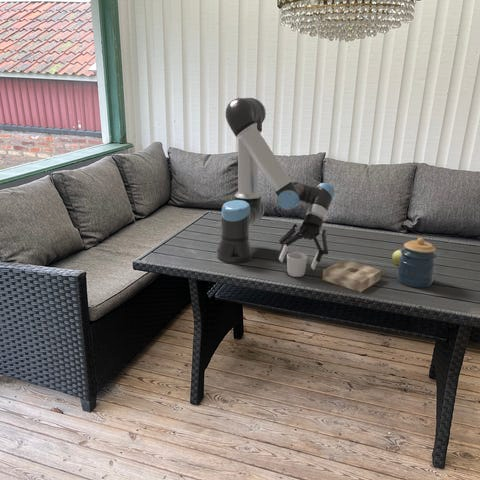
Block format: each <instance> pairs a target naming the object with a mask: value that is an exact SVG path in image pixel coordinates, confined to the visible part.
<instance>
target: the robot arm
mask: <svg viewBox="0 0 480 480" xmlns="http://www.w3.org/2000/svg"><path fill="white" fill-rule="evenodd" d="M266 115H267V111H266V107H265V105H264V104H263V102H261V101H260V100H259V99H257V98H254V97H237V98H235V99H233V100H231V101H230V102H229V103H228V104H227V105H226V109H225V121H227V124H228V126H229V128H230V130H231V132H232V133H233V134H234V136H235V137H236V138H237V168H238V169H237V192H236V193H235V194H234V200H231V201H230V200H229V201H227V202H225V203H223V205H222V207H221V213H220V216H221V219H220V220H221V221H220V222H221V226H220V227H221V228H220V229H221V230H220V231H221V233H220V234H221V236H220V242H219V245H218V247H217V251H216V258H217V259H218V260H220V261H222V262H226V263H232V264H233V263H235V264H237V263H239V264H240V263H245V262H249V261H250V260H252V259H253V251H252V248H251V243H250V237H249V236H250V228H251V227H252V226H253V225H255V224H257V223H258V222H260V221H261V219H262V218H263V216H264V212H265V205H264V203H263V202H262V195H261V193H259V189H258V186H259V185H258V184H259V179H258V178H259V176H258V175H259V169H260V172H262V174H263V176H264V177H265V179H266V180H267V182H268V183H269V185H270V186H271V188H272V189H273V191H274V193H275V194H276V196H277V202H278V205H279V206H280V208H281V209H283V210H286V211H288V210H292V209H295V208H296V207H297V206H298V205H300V204H301V203H303V204H307V205H309V207H308V208H307V211H306V214H305V215H304V219H303V221H302V224H301V225H300V226H299V225H297V224H296V223H294V224H293V225H292V227H291V229H289V231H287V232H286V233H285V234H284V235H283V236H282V237H281V238H280V239H279V241H278V242H279V243H280V245H281V246H280V249H279V253H280V254H279V256H278V260H279V262H280V263H283V261H284V260H285V256H286V255H287V252H288V249H289V248H288V246H291V245H292V244H293V243H295V242H296V241H298V240H301V239H304V240H310V241H312V240H313V241H314V243H315V246H316V247H317V249H318V251H316V252H315V255H314V257H313V259H312V262H311V265H310V267H311V269H312V270H316V266H317V264H318V263H319V262H321V259H322V257H323V255H326V256H327V255H329V250H328V249H329V247H328V242H327V241H328V240H327V236H328V233H327V230H326V229H322V230H321V228H322V226H323V224H324V220H325V219H326V216H327V214H328V211H329V209H330V205H331V203H332V202H333V197H334V195H335V188H334V187H333V186H332V185H331V184H329V183H327V182H320V183H319V184H318V185H317V186H312V185H309V184H306V183H305V184H304V183H301V182H298V181H295V180H291V178H290V177H289V176H288V174H287V173H286V171H285V169H284V167H282V165H281V163H280V162H279V160H278V158H277V157H276V155H275V153H274V152H273V151H272V150H271V148H270V146H269V145H268V143H267V142H266V140H265V138H264V137H263V136H262V134H261V133H262V132H263V123H264V121H265V119H266ZM319 235H320V236H321V240H322V245H323V249H322V247H321V245H320V243H319V240H318V238H317V236H319Z"/></svg>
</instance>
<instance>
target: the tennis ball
mask: <svg viewBox="0 0 480 480" xmlns="http://www.w3.org/2000/svg"><path fill="white" fill-rule="evenodd" d="M401 254H402V253H401V249H398V250H395V251H394V252H393V253H392V255H391V259H392V262H393V263H394V265H396V266H399V261H400V260H399V258H400V257H401Z"/></svg>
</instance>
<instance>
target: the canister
mask: <svg viewBox="0 0 480 480" xmlns="http://www.w3.org/2000/svg"><path fill="white" fill-rule="evenodd" d="M400 250H401V253H402V254H401V257H400V258H399V260H400V261H399V265H398V268H397V272H396V280H397V282H399V283H400V284H402V285H404V286H408V287H411V288H417V289H418V288H419V289H423V288H424V289H425V288H428V287H430V286H431V285H432V283H433V280H434V275H435V274H434V273H435V267H436V259H437V257H438V254H437V252H436V250H437V249H436V247H435V246H433V244H432V243H430V242H427V241H425V239H424V238H423V237H418V238H417V239H416V240H415V239H414V240H413V239H412V240H409V241H407V242H405V243H403V247H402V248H401V249H400Z"/></svg>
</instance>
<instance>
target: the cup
mask: <svg viewBox="0 0 480 480" xmlns="http://www.w3.org/2000/svg"><path fill="white" fill-rule="evenodd" d="M307 262H308V255H307V254H306V253H303V252H295V251H294V252H288V253H286V271H287V274H288V276H290V277H293V278H300V277H303V276H304V275H305V273H306V267H307Z"/></svg>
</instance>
